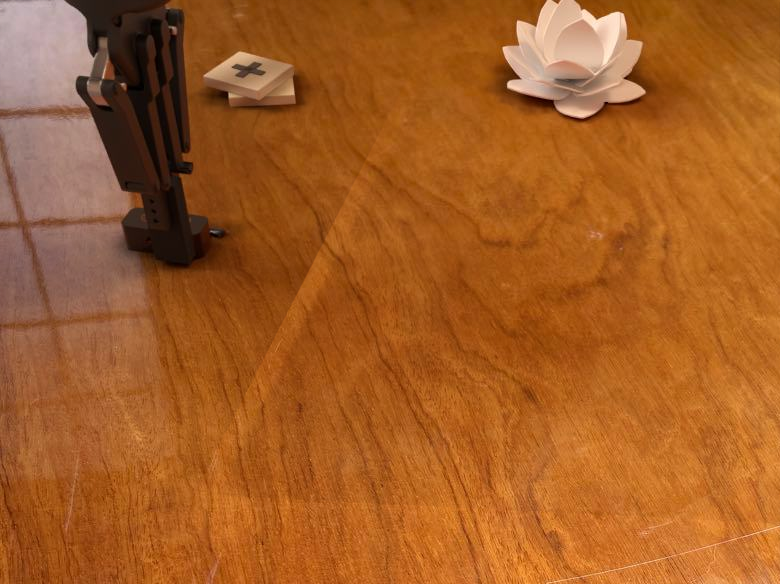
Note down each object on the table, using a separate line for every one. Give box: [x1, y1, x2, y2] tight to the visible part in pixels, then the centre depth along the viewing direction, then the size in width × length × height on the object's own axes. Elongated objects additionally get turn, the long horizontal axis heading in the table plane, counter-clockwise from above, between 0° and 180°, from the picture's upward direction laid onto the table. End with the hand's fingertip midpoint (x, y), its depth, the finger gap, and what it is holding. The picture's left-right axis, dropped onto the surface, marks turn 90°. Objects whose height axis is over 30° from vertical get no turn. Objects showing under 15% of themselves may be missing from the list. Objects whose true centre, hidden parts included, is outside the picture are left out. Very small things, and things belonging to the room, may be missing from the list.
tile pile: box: [202, 51, 297, 108], centre depth 110 cm, size 8×8×3 cm
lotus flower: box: [502, 0, 647, 119], centre depth 113 cm, size 14×15×9 cm
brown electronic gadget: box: [120, 206, 230, 260], centre depth 92 cm, size 5×7×3 cm, turn 81°
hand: (175, 256), depth 90 cm, fingers closed
